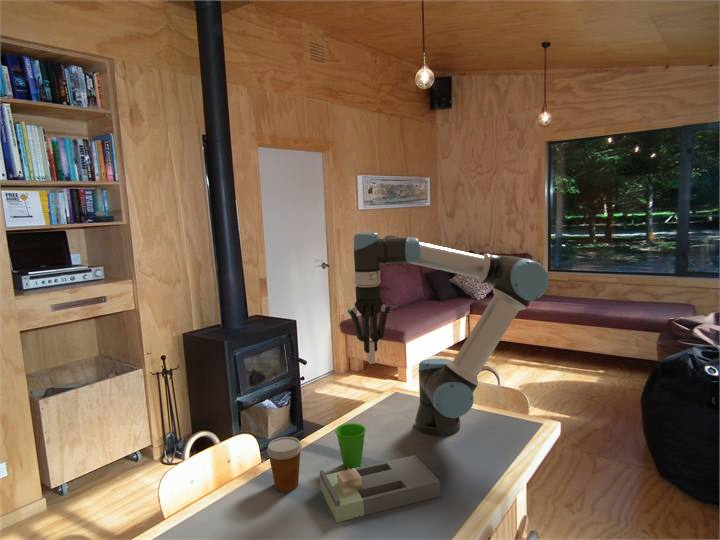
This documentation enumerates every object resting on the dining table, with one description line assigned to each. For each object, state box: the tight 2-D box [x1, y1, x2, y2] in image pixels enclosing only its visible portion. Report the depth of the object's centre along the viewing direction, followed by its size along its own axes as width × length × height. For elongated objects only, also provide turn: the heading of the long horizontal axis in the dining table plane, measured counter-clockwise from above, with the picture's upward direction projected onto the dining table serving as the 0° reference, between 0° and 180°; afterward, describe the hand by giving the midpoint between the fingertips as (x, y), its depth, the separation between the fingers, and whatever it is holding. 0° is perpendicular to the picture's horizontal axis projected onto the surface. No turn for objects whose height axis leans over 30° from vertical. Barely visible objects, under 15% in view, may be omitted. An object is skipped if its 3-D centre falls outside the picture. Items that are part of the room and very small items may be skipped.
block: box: [336, 468, 362, 493], centre depth 127 cm, size 5×5×3 cm
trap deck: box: [319, 454, 441, 523], centre depth 130 cm, size 28×15×6 cm, turn 109°
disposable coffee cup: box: [266, 436, 303, 493], centre depth 136 cm, size 10×10×12 cm
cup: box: [334, 422, 367, 470], centre depth 145 cm, size 9×9×11 cm
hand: (371, 362), depth 150 cm, fingers closed
